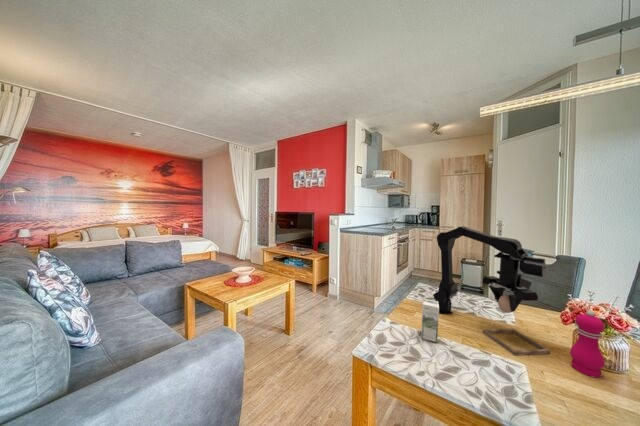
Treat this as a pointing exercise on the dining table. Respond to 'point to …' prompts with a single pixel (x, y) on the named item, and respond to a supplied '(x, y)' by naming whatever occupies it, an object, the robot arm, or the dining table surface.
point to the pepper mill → (588, 345)
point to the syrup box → (430, 320)
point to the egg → (504, 303)
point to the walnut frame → (519, 352)
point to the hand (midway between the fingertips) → (506, 307)
